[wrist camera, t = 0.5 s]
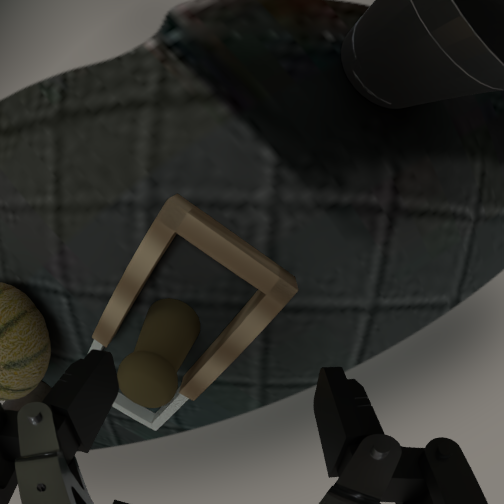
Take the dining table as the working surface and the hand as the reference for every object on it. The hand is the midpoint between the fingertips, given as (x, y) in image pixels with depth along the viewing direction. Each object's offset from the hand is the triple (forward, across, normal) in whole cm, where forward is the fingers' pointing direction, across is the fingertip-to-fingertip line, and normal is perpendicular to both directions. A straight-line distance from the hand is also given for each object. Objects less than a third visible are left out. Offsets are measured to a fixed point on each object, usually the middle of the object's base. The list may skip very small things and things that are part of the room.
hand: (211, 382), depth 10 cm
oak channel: (+19, +5, +6) cm, 20 cm away
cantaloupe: (+20, +28, +11) cm, 36 cm away
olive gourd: (+19, +7, +8) cm, 22 cm away
